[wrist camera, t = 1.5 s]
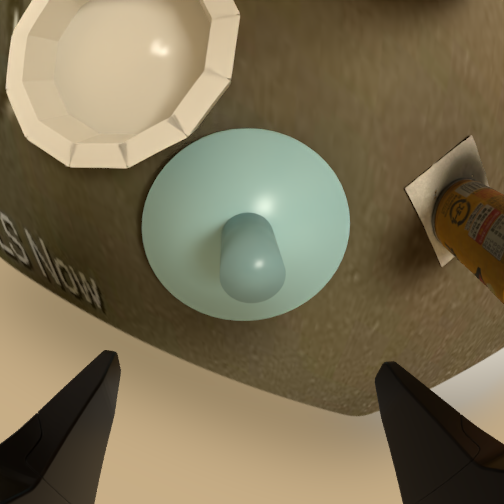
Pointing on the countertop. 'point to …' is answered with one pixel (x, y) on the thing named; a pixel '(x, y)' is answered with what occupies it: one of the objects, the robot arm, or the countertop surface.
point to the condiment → (463, 214)
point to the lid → (245, 224)
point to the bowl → (118, 75)
